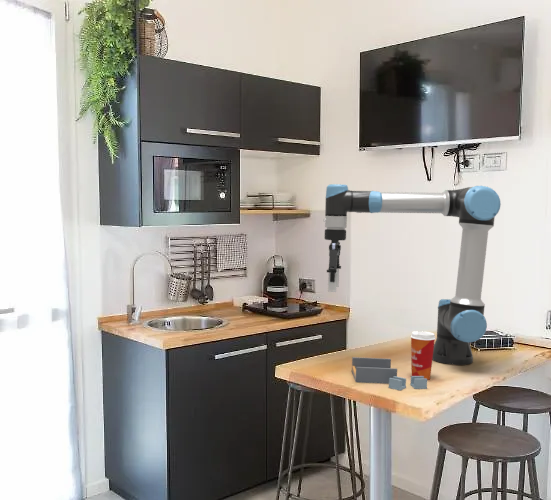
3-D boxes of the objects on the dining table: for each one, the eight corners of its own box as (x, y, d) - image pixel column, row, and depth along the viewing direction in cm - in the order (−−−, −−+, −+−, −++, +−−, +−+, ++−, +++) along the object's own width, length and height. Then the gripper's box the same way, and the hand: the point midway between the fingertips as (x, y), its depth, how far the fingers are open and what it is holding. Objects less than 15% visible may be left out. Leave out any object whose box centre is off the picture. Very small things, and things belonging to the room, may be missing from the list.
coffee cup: (405, 374, 205) (407, 330, 204) (428, 374, 205) (431, 330, 204) (412, 381, 196) (415, 335, 195) (437, 381, 197) (439, 336, 196)
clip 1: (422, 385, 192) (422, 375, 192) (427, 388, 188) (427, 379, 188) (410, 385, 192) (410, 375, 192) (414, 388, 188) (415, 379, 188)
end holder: (389, 372, 206) (390, 358, 206) (396, 384, 192) (397, 369, 192) (351, 371, 206) (352, 357, 206) (355, 382, 193) (356, 367, 193)
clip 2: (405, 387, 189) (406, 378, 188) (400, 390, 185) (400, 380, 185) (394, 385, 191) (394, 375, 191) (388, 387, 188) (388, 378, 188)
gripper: (327, 227, 224) (325, 284, 225) (321, 229, 200) (319, 293, 201) (347, 228, 223) (345, 285, 224) (344, 230, 198) (342, 294, 200)
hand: (333, 289), depth 213 cm, fingers open, 13 cm apart
